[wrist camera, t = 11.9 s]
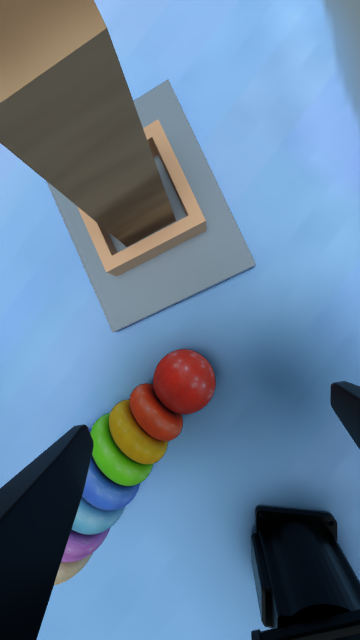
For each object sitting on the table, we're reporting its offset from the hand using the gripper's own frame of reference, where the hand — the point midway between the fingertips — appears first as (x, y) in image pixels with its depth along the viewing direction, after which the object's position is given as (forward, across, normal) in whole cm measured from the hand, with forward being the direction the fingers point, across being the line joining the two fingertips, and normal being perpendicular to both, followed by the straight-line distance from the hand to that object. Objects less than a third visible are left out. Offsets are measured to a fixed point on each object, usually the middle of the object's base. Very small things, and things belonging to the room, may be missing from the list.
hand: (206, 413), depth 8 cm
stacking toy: (+5, +15, +14) cm, 21 cm away
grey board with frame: (+16, +3, -9) cm, 19 cm away
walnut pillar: (+15, +3, -10) cm, 18 cm away
